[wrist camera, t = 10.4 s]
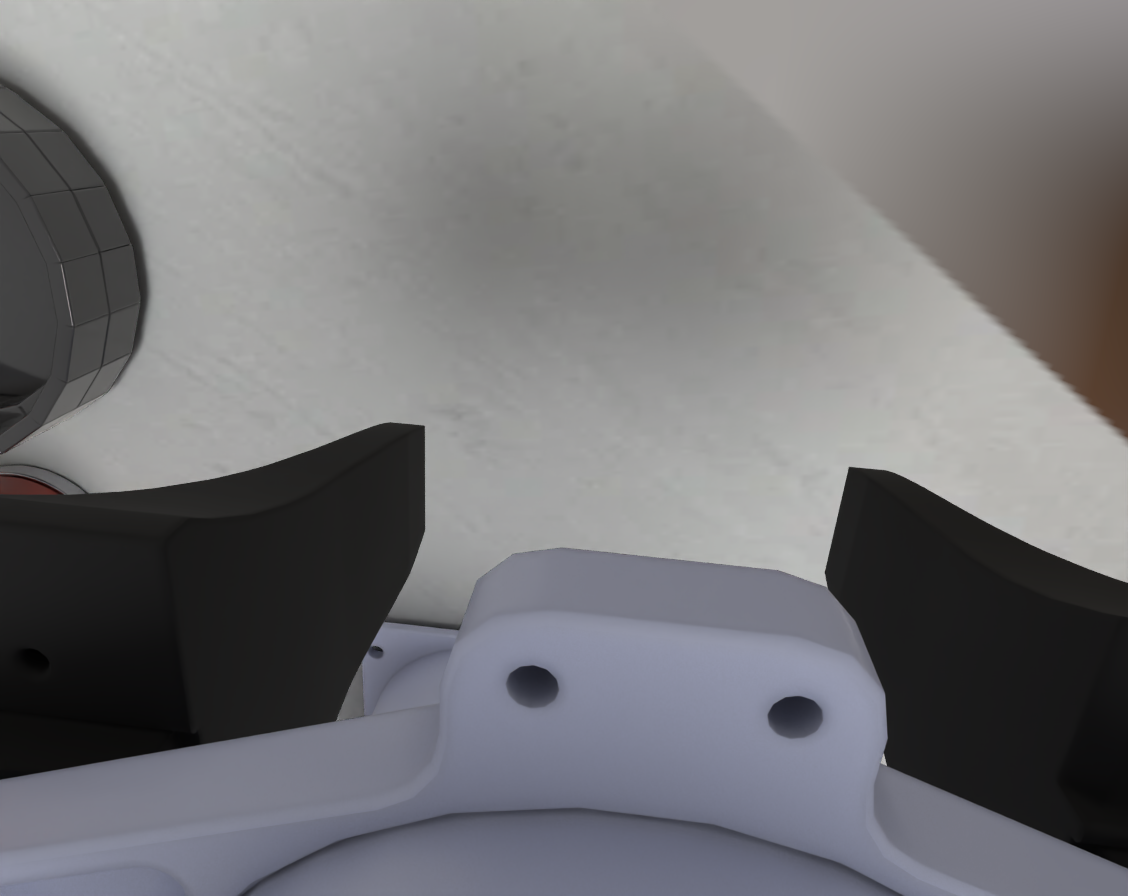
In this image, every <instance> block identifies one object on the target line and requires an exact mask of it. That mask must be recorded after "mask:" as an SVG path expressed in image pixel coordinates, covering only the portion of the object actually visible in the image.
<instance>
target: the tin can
mask: <svg viewBox="0 0 1128 896" xmlns="http://www.w3.org/2000/svg"><path fill="white" fill-rule="evenodd" d="M0 494H9V495H50V494H87V493H85V492H84V491H83V490H82V489H80V488H79V487H78V486H76V485H75V484H73V483H72V482H70V481H69V480H67V479H65V478H63V477H61V476H59V475H57V474H55V473H52V472H50V471H47V470H44V469H40V468H36V467H31V466H22V465H11V466H2V467H0Z"/></svg>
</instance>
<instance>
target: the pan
mask: <svg viewBox="0 0 1128 896" xmlns="http://www.w3.org/2000/svg"><path fill="white" fill-rule="evenodd" d="M104 185H105V183H104V182H103V181H102V179H101V178H100V177H99V175H98V174H97V173H96V172H95V170H94V169H93V168H92V166H91V165H90V164H89V163H88V161H87V160H86V159H85V157H84V156H83V155H82V154H81V152H80V151H79V150H78V148H77V147H76V146H75V145H74V143H73V142H72V141H71V140H70V138H69V137H68V136H67V134H66V133H65V132H63V131H62V129H61V128H59V127H58V126H57V125H56V124H54V123H53V122H52V121H50V120H49V119H48V118H47V117H45V116H44V115H43V114H41V113H40V112H39V111H38V110H36V109H35V108H34V107H33V106H31V105H30V104H29V103H27V102H26V101H25V100H24V99H22V98H21V97H20V96H19V95H17V94H16V93H15V92H13V91H12V90H11V89H7V88H6V87H5V86H3V85H1V84H0V454H3V453H6V452H8V451H9V450H11V449H13V448H15V447H17V446H19V445H21V444H23V443H24V442H26V441H28V440H30V439H32V438H34V437H36V436H38V435H39V434H41V433H43V432H45V431H47V430H49V429H51V428H53V427H54V426H56V425H58V424H60V423H62V422H64V421H66V420H68V419H69V418H71V417H73V416H75V415H76V414H77V413H79V412H80V411H82V410H83V409H85V408H86V407H87V406H89V405H90V404H92V403H93V402H94V401H96V400H97V399H99V398H100V397H102V396H103V395H104V394H106V393H107V392H108V391H109V390H110V388H111V386H112V385H113V383H114V381H115V380H116V378H117V376H118V375H119V373H120V372H121V370H122V368H123V367H124V365H125V363H126V362H127V360H128V358H129V357H130V355H131V353H132V352H131V351H132V349H133V344H134V338H135V332H136V326H137V320H138V315H139V309H140V301H141V298H140V292H139V285H138V278H137V271H136V265H135V258H134V251H133V246H132V245H131V242H130V239H129V237H128V235H127V232H126V230H125V228H124V226H123V223H122V221H121V219H120V217H119V214H118V212H117V210H116V207H115V205H114V203H113V201H112V198H111V196H110V194H109V192H108V189H107V188H106V187H105V186H104Z"/></svg>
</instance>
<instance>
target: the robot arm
mask: <svg viewBox="0 0 1128 896" xmlns="http://www.w3.org/2000/svg"><path fill="white" fill-rule="evenodd" d="M424 532H425V426H422V425H412V424H402V423H391V422H390V423H383V424H379V425H376V426H373V427H370V428H367V429H365V430H362V431H359V432H357V433H354V434H351V435H349V436H346V437H344V438H341V439H339V440H336V441H334V442H331V443H329V444H326V445H323V446H321V447H318V448H316V449H313V450H310V451H307V452H304V453H301V454H299V455H296V456H293V457H290V458H287V459H284V460H281V461H278V462H275V463H273V464H269V465H266V466H263V467H259V468H256V469H252V470H249V471H245V472H241V473H236V474H232V475H228V476H224V477H220V478H215V479H210V480H204V481H198V482H192V483H185V484H179V485H173V486H167V487H160V488H153V489H144V490H134V491H123V492H109V493H93V494H50V495H9V494H0V896H1128V583H1126V582H1123V581H1120V580H1117V579H1114V578H1111V577H1108V576H1105V575H1103V574H1100V573H1097V572H1094V571H1092V570H1089V569H1087V568H1084V567H1082V566H1079V565H1077V564H1074V563H1072V562H1070V561H1067V560H1065V559H1062V558H1060V557H1057V556H1055V555H1052V554H1050V553H1048V552H1045V551H1043V550H1041V549H1039V548H1037V547H1034V546H1032V545H1030V544H1028V543H1026V542H1024V541H1022V540H1020V539H1018V538H1016V537H1014V536H1012V535H1010V534H1008V533H1006V532H1004V531H1002V530H1000V529H998V528H996V527H994V526H992V525H990V524H988V523H986V522H985V521H983V520H981V519H979V518H977V517H975V516H973V515H972V514H970V513H968V512H966V511H964V510H963V509H961V508H959V507H957V506H956V505H954V504H952V503H950V502H948V501H947V500H945V499H943V498H941V497H940V496H938V495H936V494H934V493H933V492H931V491H929V490H927V489H925V488H924V487H922V486H920V485H918V484H916V483H914V482H912V481H910V480H908V479H907V478H904V477H902V476H900V475H898V474H895V473H893V472H890V471H886V470H875V469H865V468H855V467H849V469H848V474H847V478H846V482H845V487H844V491H843V496H842V500H841V504H840V509H839V513H838V517H837V522H836V526H835V530H834V535H833V539H832V544H831V548H830V552H829V557H828V561H827V565H826V570H825V575H826V581H827V586H828V589H827V588H826V587H824V586H822V585H819V584H816V583H813V582H810V581H807V580H804V579H801V578H799V577H796V576H793V575H790V574H787V573H784V572H781V571H779V570H770V569H760V568H751V567H741V566H732V565H722V564H713V563H703V562H694V561H684V560H675V559H665V558H656V557H646V556H637V555H627V554H618V553H608V552H599V551H589V550H580V549H570V548H555V549H547V550H539V551H531V552H523V553H515V554H512V555H511V556H509V557H508V558H507V559H505V560H504V561H502V562H501V563H500V564H498V565H497V566H496V567H494V568H493V569H492V570H490V571H489V572H488V573H486V574H485V575H483V576H482V577H481V578H479V579H478V580H477V582H476V585H475V588H474V590H473V593H472V596H471V599H470V602H469V604H468V607H467V610H466V613H465V615H464V618H463V621H462V624H461V627H460V629H459V630H451V629H442V628H434V627H425V626H416V625H407V624H398V623H389V622H384V621H385V619H386V617H387V615H388V613H389V612H390V610H391V608H392V606H393V604H394V602H395V601H396V599H397V597H398V595H399V593H400V591H401V590H402V588H403V586H404V584H405V582H406V580H407V578H408V576H409V574H410V572H411V569H412V567H413V564H414V561H415V558H416V556H417V553H418V550H419V547H420V544H421V541H422V538H423V535H424ZM372 646H378V647H380V648H381V649H382V650H383V651H377V650H375V649H374V648H373V647H372ZM361 662H362V674H363V696H364V716H363V717H357V718H352V719H346V720H340V721H336V719H337V717H338V714H339V712H340V709H341V707H342V704H343V702H344V699H345V697H346V694H347V692H348V689H349V687H350V685H351V683H352V681H353V678H354V676H355V674H356V672H357V670H358V668H359V666H360V664H361ZM883 753H884V755H885V759H886V763H887V766H885V765H883V764H881V759H882V756H883Z"/></svg>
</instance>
